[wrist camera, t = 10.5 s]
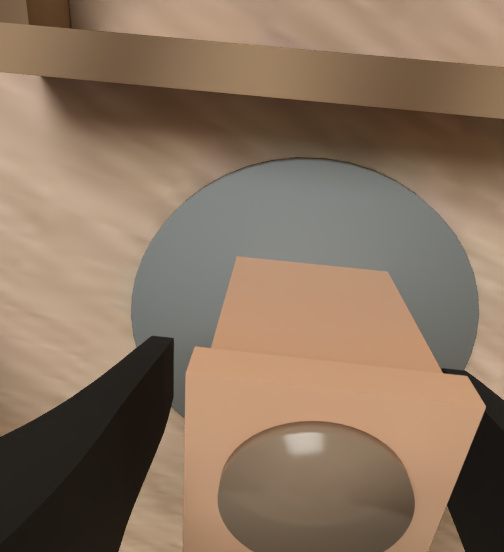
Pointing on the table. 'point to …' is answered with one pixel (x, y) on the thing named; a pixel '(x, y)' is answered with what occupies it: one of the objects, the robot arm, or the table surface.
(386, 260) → the mat
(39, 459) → the robot arm
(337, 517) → the orange block with dome
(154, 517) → the table surface
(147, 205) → the table surface
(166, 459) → the table surface
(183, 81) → the cold frame
